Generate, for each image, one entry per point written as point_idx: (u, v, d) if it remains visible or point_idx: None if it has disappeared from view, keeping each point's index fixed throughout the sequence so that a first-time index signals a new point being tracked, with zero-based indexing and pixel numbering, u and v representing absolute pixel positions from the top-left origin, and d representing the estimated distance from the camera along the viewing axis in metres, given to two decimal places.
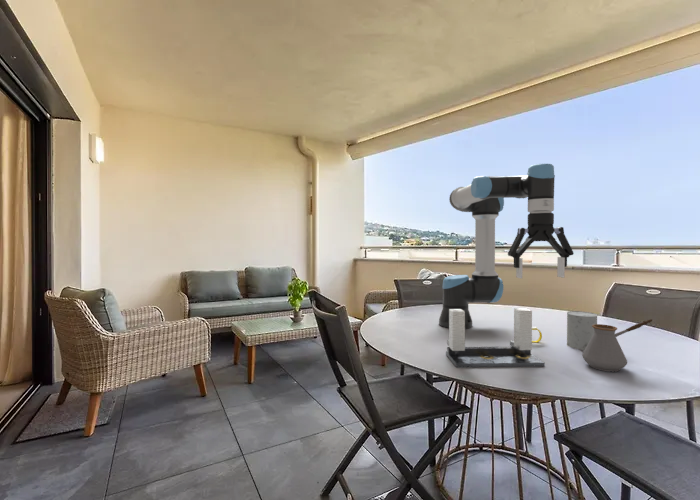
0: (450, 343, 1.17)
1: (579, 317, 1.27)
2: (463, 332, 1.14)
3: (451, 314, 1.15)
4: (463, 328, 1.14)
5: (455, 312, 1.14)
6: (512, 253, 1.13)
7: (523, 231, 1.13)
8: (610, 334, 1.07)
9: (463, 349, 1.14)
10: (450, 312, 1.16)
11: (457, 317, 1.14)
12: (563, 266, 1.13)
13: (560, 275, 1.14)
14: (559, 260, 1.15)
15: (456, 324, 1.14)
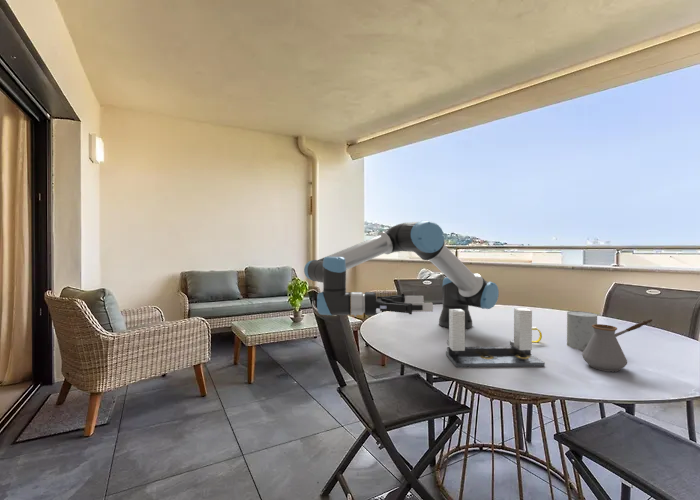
0: (450, 343, 1.17)
1: (579, 317, 1.27)
2: (463, 332, 1.14)
3: (451, 314, 1.15)
4: (463, 328, 1.14)
5: (455, 312, 1.14)
6: None
7: None
8: (610, 334, 1.07)
9: (463, 349, 1.14)
10: (450, 312, 1.16)
11: (457, 317, 1.14)
12: None
13: None
14: None
15: (456, 324, 1.14)
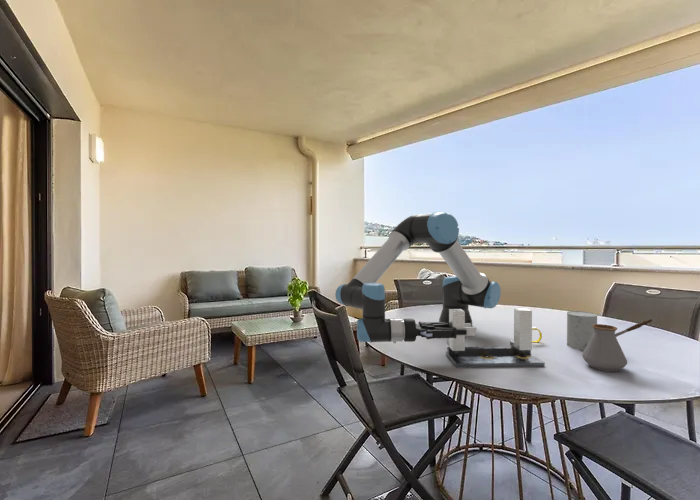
0: (450, 343, 1.17)
1: (579, 317, 1.27)
2: None
3: (451, 314, 1.15)
4: None
5: (455, 312, 1.14)
6: None
7: None
8: (610, 334, 1.07)
9: (463, 349, 1.14)
10: (450, 312, 1.16)
11: (457, 317, 1.14)
12: None
13: None
14: None
15: (456, 324, 1.14)
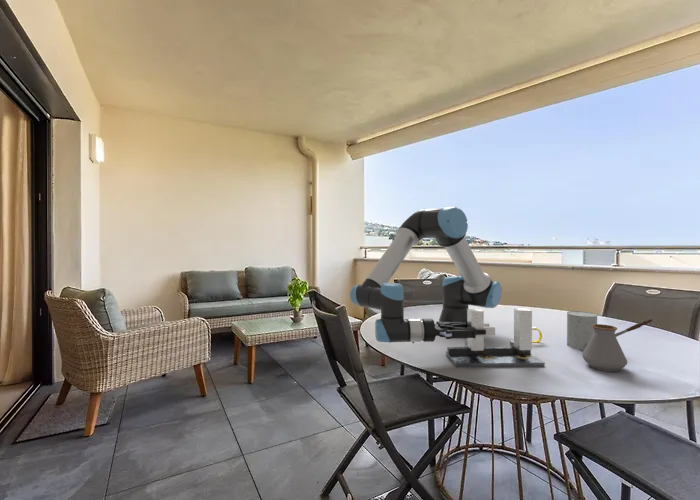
0: (468, 343, 1.17)
1: (579, 317, 1.27)
2: None
3: (470, 314, 1.15)
4: None
5: (474, 312, 1.14)
6: None
7: None
8: (610, 334, 1.07)
9: (482, 349, 1.14)
10: (469, 312, 1.16)
11: (476, 317, 1.14)
12: None
13: None
14: None
15: (475, 324, 1.14)
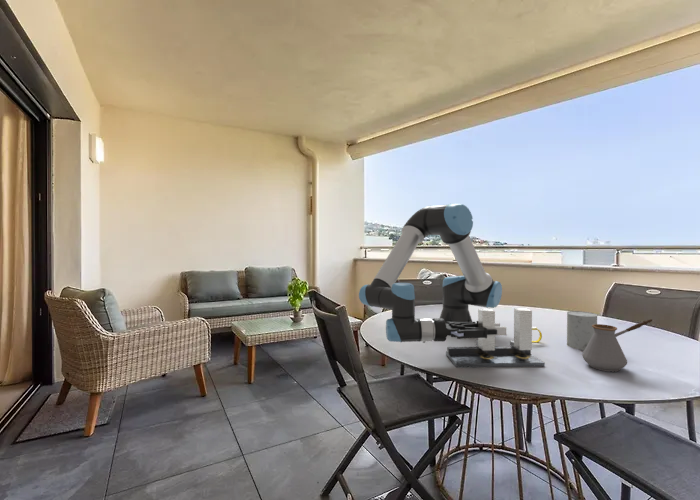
0: (479, 343, 1.17)
1: (579, 317, 1.27)
2: None
3: (481, 314, 1.15)
4: None
5: (485, 312, 1.14)
6: None
7: None
8: (610, 334, 1.07)
9: (493, 349, 1.14)
10: (479, 312, 1.16)
11: (487, 317, 1.14)
12: None
13: None
14: None
15: (486, 323, 1.14)
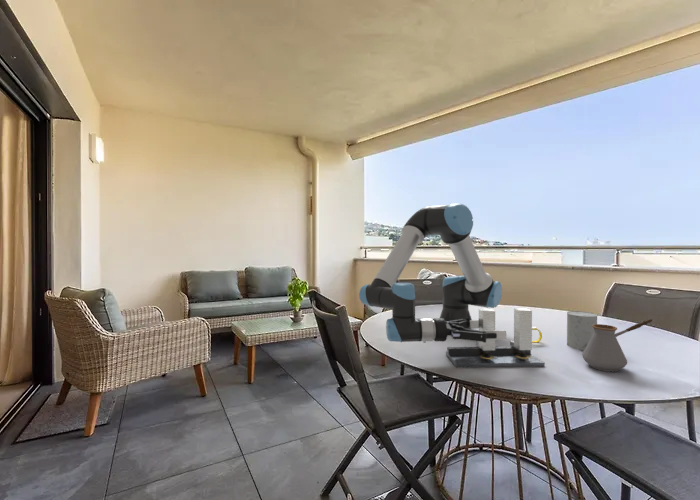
0: (480, 343, 1.17)
1: (579, 317, 1.27)
2: None
3: (482, 314, 1.15)
4: (493, 328, 1.14)
5: (486, 312, 1.14)
6: None
7: None
8: (610, 334, 1.07)
9: (493, 349, 1.14)
10: (480, 312, 1.16)
11: (488, 317, 1.14)
12: None
13: None
14: None
15: (486, 323, 1.14)
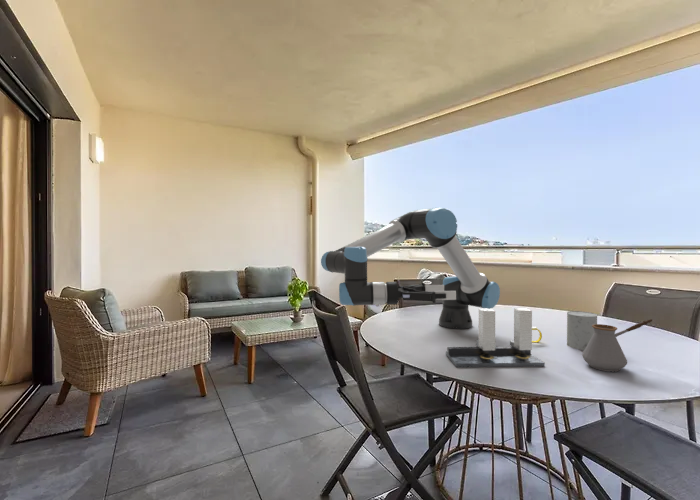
0: (480, 343, 1.17)
1: (579, 317, 1.27)
2: (493, 332, 1.14)
3: (482, 314, 1.15)
4: (493, 328, 1.14)
5: (486, 312, 1.14)
6: None
7: None
8: (610, 334, 1.07)
9: (493, 349, 1.14)
10: (480, 312, 1.16)
11: (488, 317, 1.14)
12: (444, 299, 1.09)
13: None
14: None
15: (486, 323, 1.14)
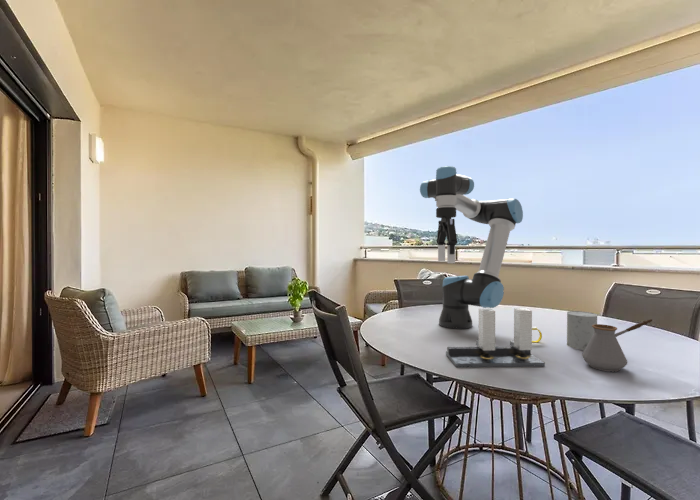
0: (480, 343, 1.17)
1: (579, 317, 1.27)
2: (493, 332, 1.14)
3: (482, 314, 1.15)
4: (493, 328, 1.14)
5: (486, 312, 1.14)
6: (436, 241, 1.45)
7: None
8: (610, 334, 1.07)
9: (493, 349, 1.14)
10: (480, 312, 1.16)
11: (488, 317, 1.14)
12: (447, 253, 1.29)
13: None
14: None
15: (486, 323, 1.14)
